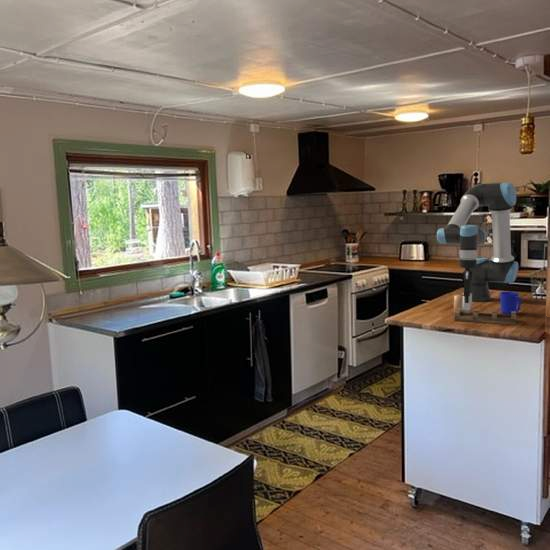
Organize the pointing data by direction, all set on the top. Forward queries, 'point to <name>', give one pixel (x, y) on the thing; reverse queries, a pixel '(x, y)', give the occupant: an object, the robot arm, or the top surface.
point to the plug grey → (470, 305)
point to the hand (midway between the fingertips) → (467, 308)
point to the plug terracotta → (458, 302)
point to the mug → (509, 302)
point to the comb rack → (486, 317)
